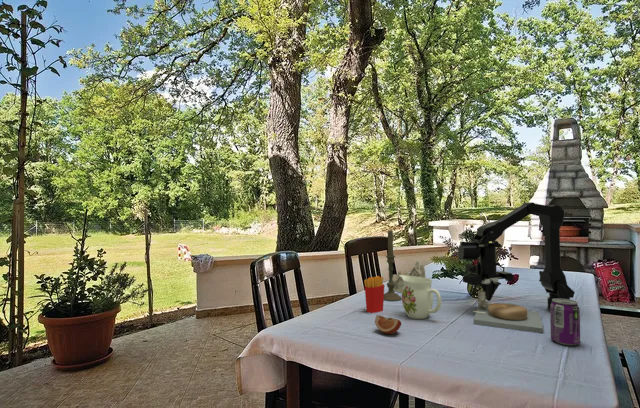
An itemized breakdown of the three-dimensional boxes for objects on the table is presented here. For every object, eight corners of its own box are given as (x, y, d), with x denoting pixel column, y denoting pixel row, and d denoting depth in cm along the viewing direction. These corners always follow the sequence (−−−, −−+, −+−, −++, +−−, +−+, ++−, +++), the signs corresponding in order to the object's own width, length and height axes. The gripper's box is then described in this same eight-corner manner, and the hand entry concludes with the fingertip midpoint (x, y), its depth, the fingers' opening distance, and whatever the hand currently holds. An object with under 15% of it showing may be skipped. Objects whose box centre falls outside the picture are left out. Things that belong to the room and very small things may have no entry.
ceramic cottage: (433, 289, 174) (430, 257, 174) (418, 296, 161) (415, 263, 162) (404, 286, 184) (401, 257, 184) (388, 294, 171) (385, 262, 172)
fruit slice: (371, 332, 114) (370, 316, 114) (383, 327, 119) (383, 312, 119) (393, 338, 108) (393, 322, 109) (405, 333, 113) (405, 317, 113)
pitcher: (430, 326, 119) (430, 284, 120) (390, 313, 134) (389, 276, 134) (450, 320, 126) (450, 280, 126) (409, 308, 140) (409, 273, 141)
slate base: (539, 316, 130) (539, 311, 130) (543, 333, 112) (543, 328, 112) (475, 308, 140) (475, 304, 140) (470, 323, 122) (470, 318, 122)
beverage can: (585, 348, 100) (584, 304, 100) (557, 346, 102) (556, 303, 102) (573, 338, 107) (572, 298, 107) (546, 337, 109) (545, 297, 109)
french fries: (378, 307, 142) (378, 274, 143) (387, 309, 139) (386, 276, 139) (361, 311, 137) (361, 277, 137) (369, 314, 133) (369, 279, 134)
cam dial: (534, 316, 123) (534, 298, 123) (513, 322, 117) (513, 303, 117) (489, 305, 138) (488, 288, 138) (468, 309, 132) (468, 292, 132)
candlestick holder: (404, 297, 158) (404, 229, 158) (397, 302, 150) (396, 230, 151) (385, 295, 163) (384, 228, 163) (376, 299, 155) (376, 229, 155)
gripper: (492, 254, 146) (493, 293, 146) (452, 257, 141) (453, 297, 141) (514, 258, 135) (515, 300, 135) (472, 262, 130) (473, 305, 130)
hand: (488, 300), depth 136 cm, fingers closed
